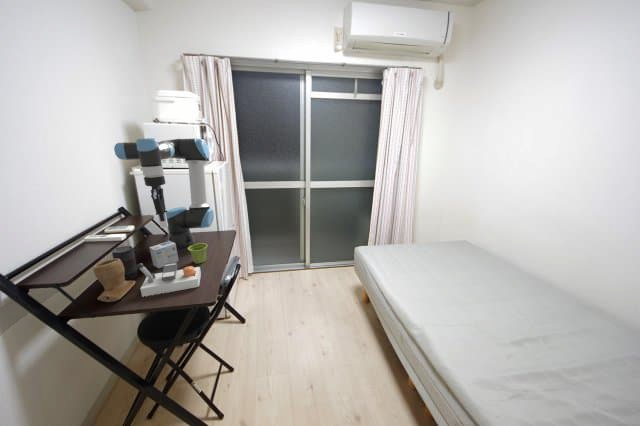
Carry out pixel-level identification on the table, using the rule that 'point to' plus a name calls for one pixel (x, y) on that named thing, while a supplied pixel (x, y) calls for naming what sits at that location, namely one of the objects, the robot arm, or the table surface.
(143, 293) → the console
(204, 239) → the table surface
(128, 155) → the robot arm
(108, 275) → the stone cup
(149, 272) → the toggle lever
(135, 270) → the camera lens
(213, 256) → the table surface
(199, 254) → the plant pot
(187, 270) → the orange button
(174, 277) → the plate
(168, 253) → the light bulb box
